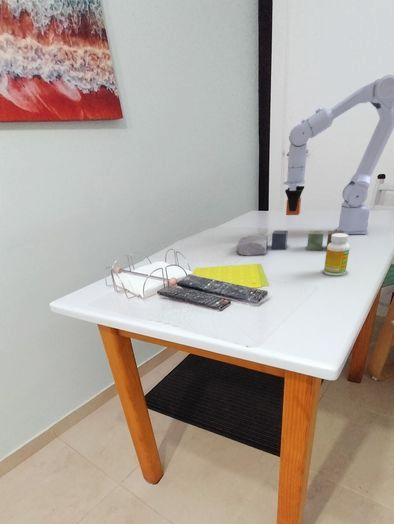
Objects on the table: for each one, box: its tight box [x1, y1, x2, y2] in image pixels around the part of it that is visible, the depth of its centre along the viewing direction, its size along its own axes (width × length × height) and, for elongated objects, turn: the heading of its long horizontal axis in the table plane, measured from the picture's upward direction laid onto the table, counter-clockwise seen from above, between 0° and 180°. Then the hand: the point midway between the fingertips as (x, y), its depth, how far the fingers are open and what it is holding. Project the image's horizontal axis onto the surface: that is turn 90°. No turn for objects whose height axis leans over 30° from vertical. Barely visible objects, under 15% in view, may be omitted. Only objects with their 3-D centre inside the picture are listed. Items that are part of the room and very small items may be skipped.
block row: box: [271, 229, 344, 251], centre depth 108 cm, size 21×4×5 cm, turn 70°
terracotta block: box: [285, 197, 302, 216], centre depth 121 cm, size 4×4×5 cm
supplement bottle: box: [323, 233, 351, 277], centre depth 87 cm, size 5×5×10 cm
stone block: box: [236, 234, 269, 257], centre depth 111 cm, size 12×5×10 cm
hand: (293, 209), depth 122 cm, fingers closed on terracotta block, 4 cm apart
